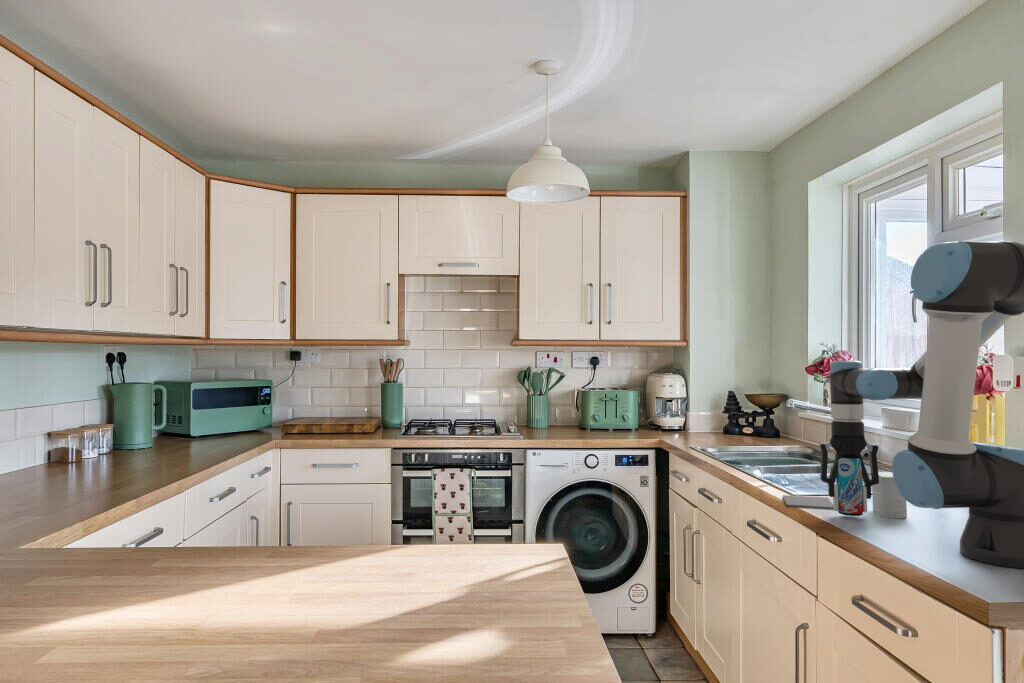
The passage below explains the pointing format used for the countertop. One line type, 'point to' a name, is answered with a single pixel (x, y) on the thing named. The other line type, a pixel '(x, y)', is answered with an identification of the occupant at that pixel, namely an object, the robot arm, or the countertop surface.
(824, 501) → the coaster
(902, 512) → the small box
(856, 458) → the beverage can
